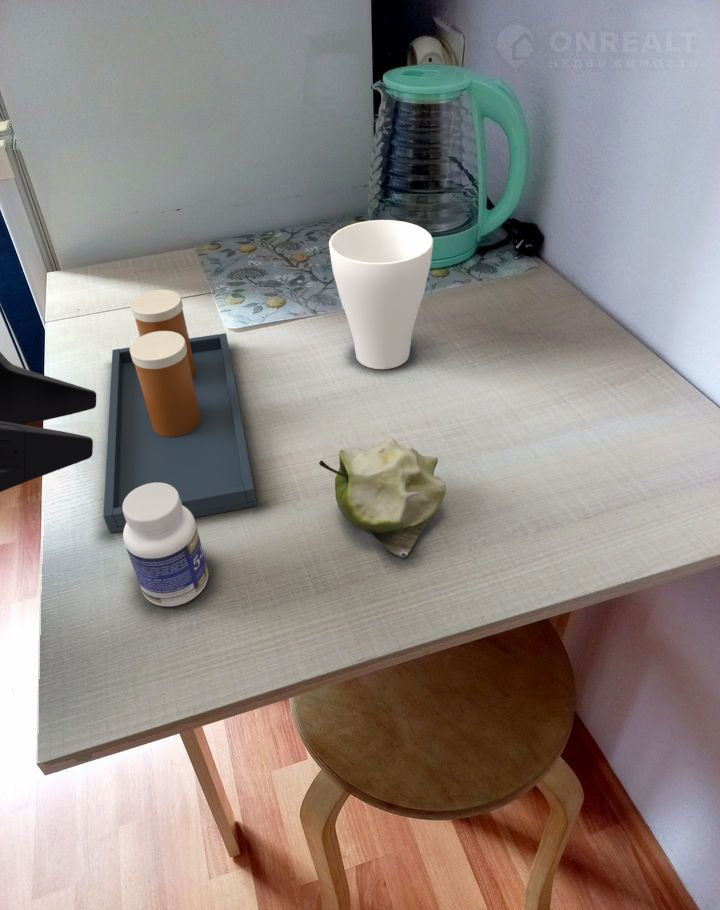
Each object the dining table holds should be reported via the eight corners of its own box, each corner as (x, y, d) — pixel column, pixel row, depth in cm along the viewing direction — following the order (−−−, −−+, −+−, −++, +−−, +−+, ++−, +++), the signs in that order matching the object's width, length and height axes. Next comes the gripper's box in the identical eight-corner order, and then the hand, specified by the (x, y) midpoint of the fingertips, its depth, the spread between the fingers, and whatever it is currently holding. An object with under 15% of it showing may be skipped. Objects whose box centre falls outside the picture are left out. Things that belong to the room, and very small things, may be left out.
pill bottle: (216, 595, 55) (195, 514, 49) (148, 617, 53) (118, 538, 47) (200, 547, 58) (179, 468, 53) (137, 568, 57) (107, 488, 51)
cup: (380, 393, 74) (378, 275, 65) (317, 355, 80) (307, 241, 71) (448, 354, 79) (455, 239, 70) (383, 321, 85) (382, 211, 76)
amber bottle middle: (152, 442, 68) (129, 363, 62) (151, 411, 72) (129, 335, 66) (204, 433, 69) (186, 355, 63) (200, 403, 73) (183, 327, 67)
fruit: (321, 548, 60) (301, 469, 56) (371, 487, 66) (357, 412, 62) (420, 570, 55) (407, 486, 51) (463, 502, 62) (455, 423, 58)
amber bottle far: (151, 392, 74) (130, 316, 69) (150, 366, 78) (130, 293, 72) (198, 384, 75) (182, 309, 69) (196, 359, 79) (180, 286, 73)
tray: (109, 533, 60) (103, 516, 59) (117, 365, 80) (112, 349, 78) (257, 506, 62) (254, 488, 61) (228, 348, 82) (226, 332, 80)
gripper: (-345, 273, 27) (96, 317, 32) (-170, 234, 43) (102, 267, 48) (-302, 537, 30) (88, 537, 36) (-156, 408, 47) (96, 421, 52)
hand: (94, 421), depth 43 cm, fingers open, 9 cm apart
